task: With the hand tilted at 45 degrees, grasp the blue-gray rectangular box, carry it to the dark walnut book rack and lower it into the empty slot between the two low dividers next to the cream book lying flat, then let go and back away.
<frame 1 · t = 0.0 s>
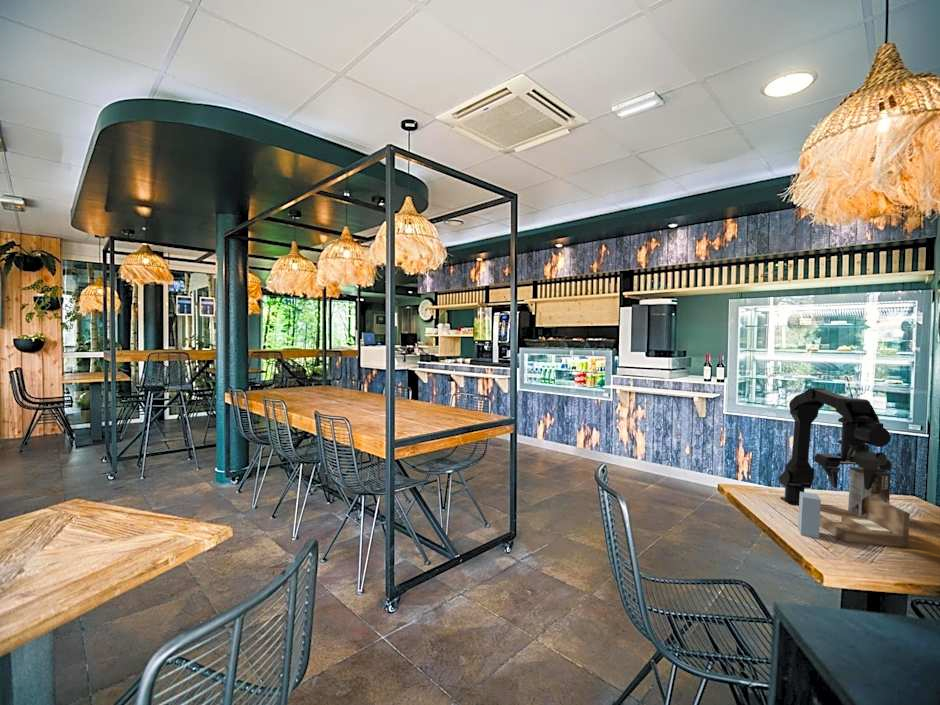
hand: (850, 488, 139), 15 cm above the table, tool pointing down, fingers open, 9 cm apart
coffee box: (867, 515, 157), on the table
book rack: (842, 531, 142), on the table
blue-gray rectangular box: (808, 533, 141), on the table
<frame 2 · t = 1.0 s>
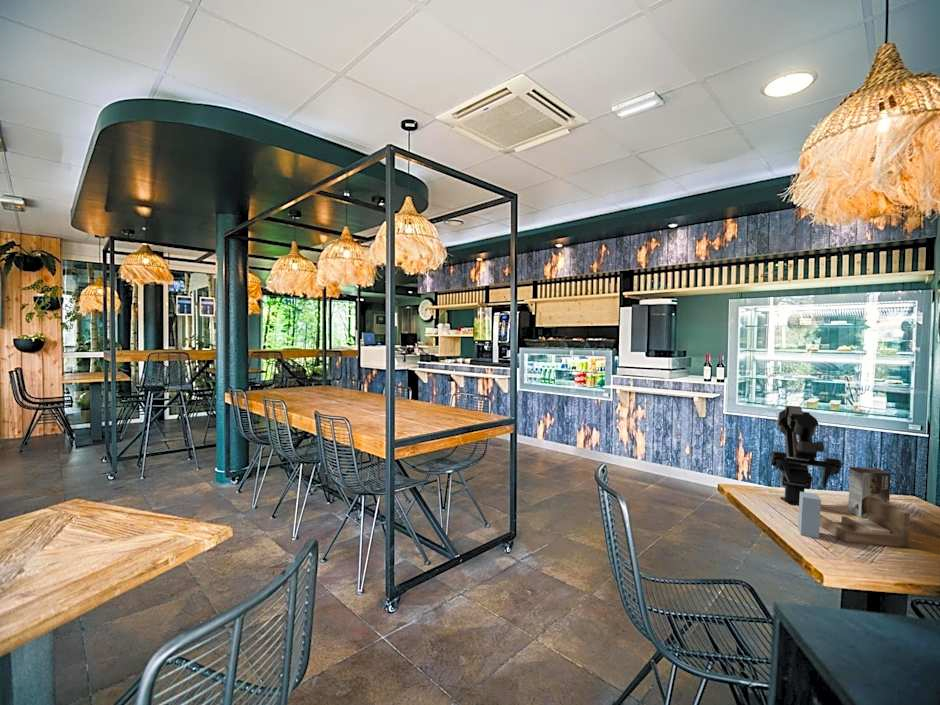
hand: (806, 485, 147), 13 cm above the table, tool tilted 45°, fingers open, 9 cm apart
nothing on the table moved.
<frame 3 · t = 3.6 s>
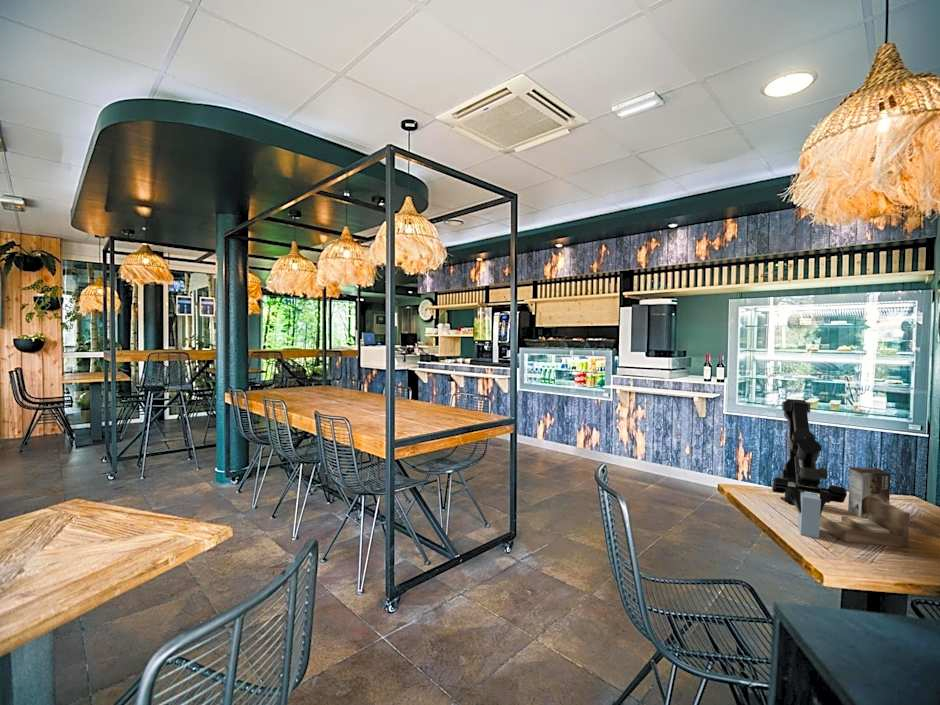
hand: (809, 513, 139), 7 cm above the table, tool tilted 45°, fingers closed on blue-gray rectangular box, 4 cm apart
blue-gray rectangular box: (808, 533, 141), on the table, touching gripper
everything else where it was.
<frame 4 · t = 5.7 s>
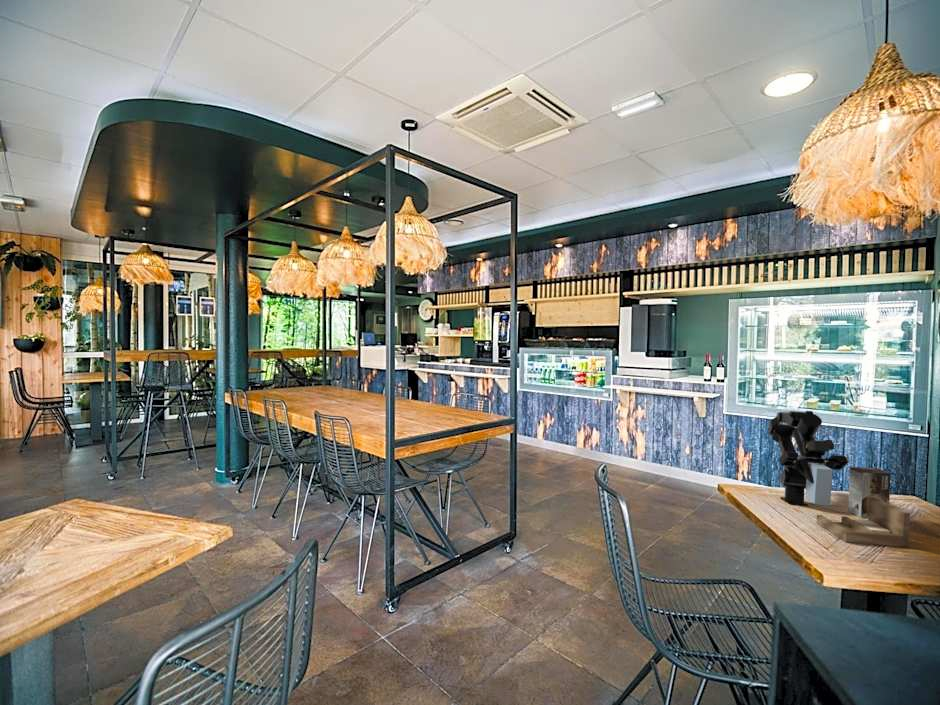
hand: (821, 483, 149), 13 cm above the table, tool tilted 45°, fingers closed on blue-gray rectangular box, 4 cm apart
blue-gray rectangular box: (817, 501, 150), point 7 cm above the table, touching gripper
everything else where it was.
when the fingers open (8 cm above the table, at t = 8.2 s): blue-gray rectangular box stays where it is, resting on book rack.
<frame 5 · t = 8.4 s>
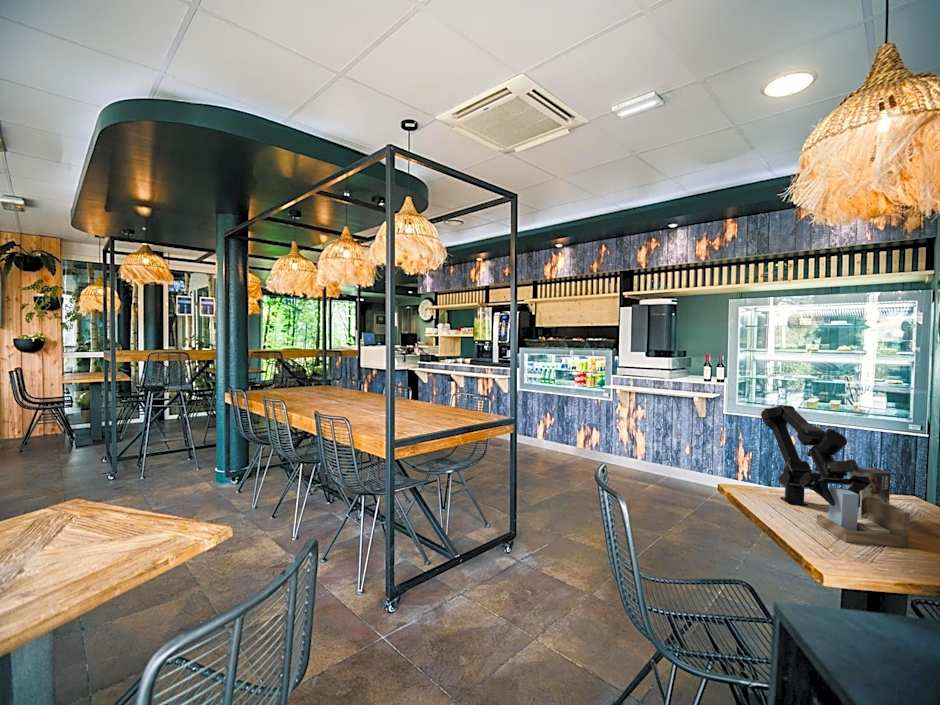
hand: (846, 506, 141), 9 cm above the table, tool tilted 45°, fingers open, 7 cm apart
blue-gray rectangular box: (842, 528, 143), point 1 cm above the table, touching book rack
everything else where it was.
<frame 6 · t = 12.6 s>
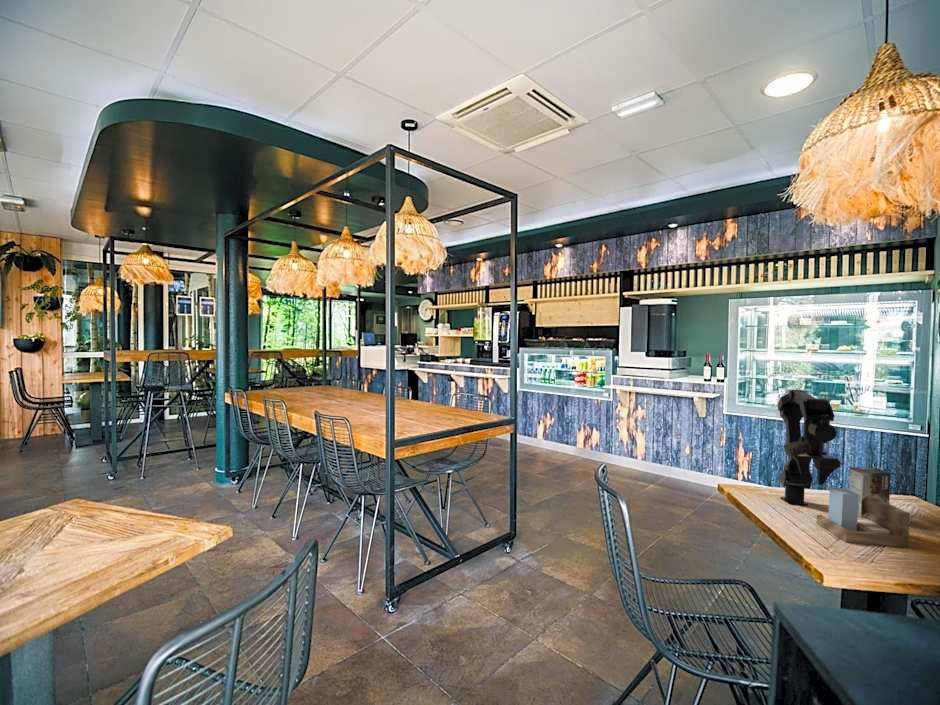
hand: (811, 480, 152), 13 cm above the table, tool pointing down, fingers open, 9 cm apart
nothing on the table moved.
at the end: blue-gray rectangular box inside the target area on the book rack (0.2 cm from its centre), point 1.0 cm above the book rack's base; blue-gray rectangular box tilted 0°; the gripper is holding nothing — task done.
